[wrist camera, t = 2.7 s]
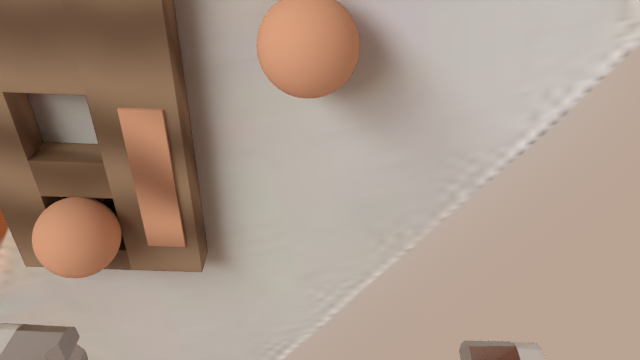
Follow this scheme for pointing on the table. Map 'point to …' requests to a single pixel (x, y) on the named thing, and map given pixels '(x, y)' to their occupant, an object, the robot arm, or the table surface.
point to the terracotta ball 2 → (308, 46)
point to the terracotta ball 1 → (76, 237)
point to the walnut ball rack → (102, 125)
